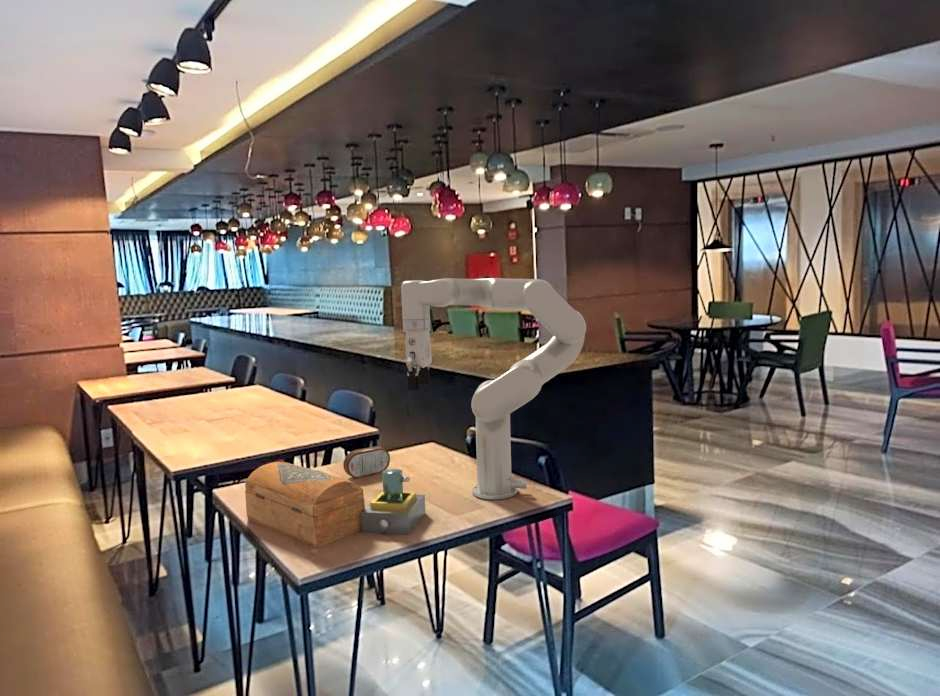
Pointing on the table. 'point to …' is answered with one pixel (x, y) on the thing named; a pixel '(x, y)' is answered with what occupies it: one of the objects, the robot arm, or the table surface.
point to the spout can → (393, 485)
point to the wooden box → (304, 503)
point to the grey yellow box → (393, 514)
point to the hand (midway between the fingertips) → (419, 386)
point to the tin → (366, 461)
